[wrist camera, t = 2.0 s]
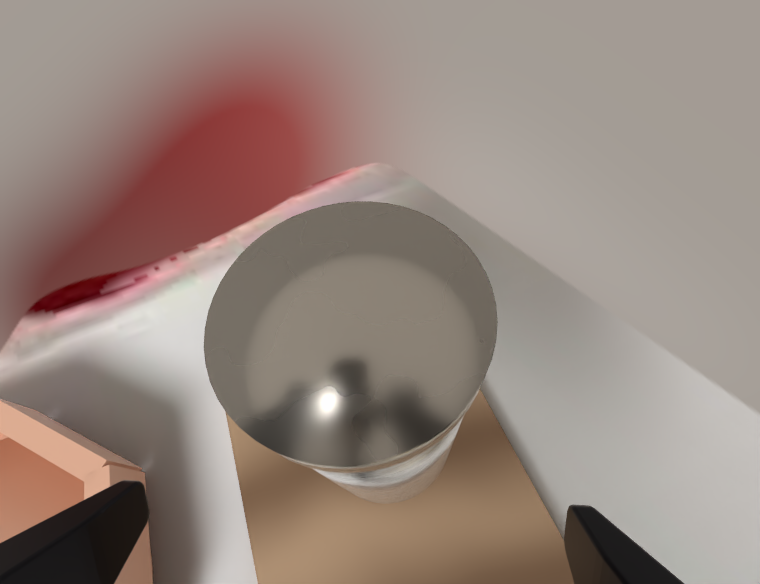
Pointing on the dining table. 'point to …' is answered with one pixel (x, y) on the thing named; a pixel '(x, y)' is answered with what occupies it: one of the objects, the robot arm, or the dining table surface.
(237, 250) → the dining table surface
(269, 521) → the walnut board
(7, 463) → the terracotta bowl
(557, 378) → the dining table surface
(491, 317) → the polished metal canister
